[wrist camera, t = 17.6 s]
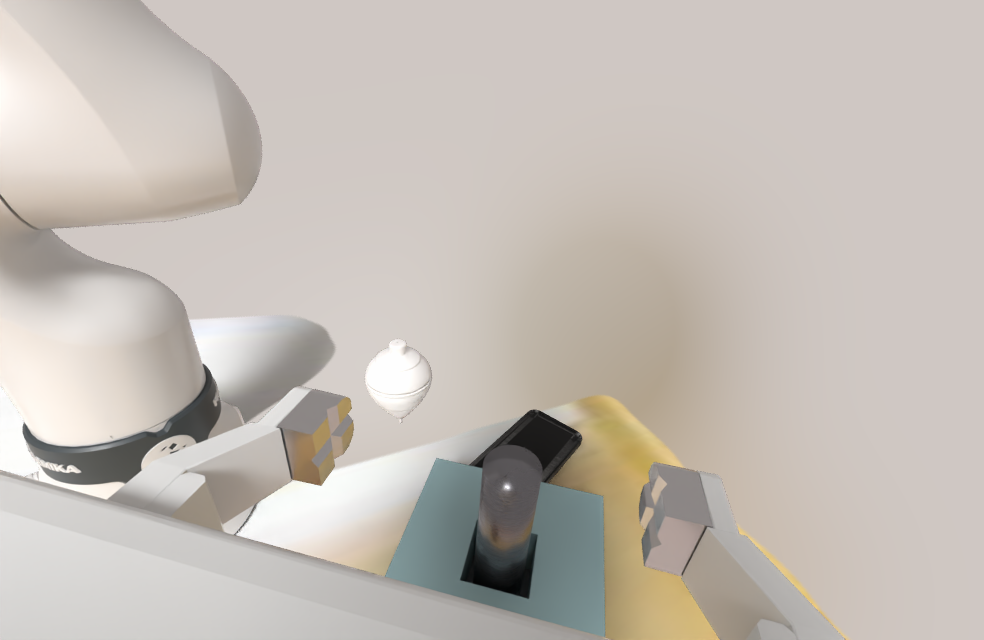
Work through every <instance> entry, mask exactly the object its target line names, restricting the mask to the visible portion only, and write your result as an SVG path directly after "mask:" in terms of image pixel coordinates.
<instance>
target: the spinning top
mask: <svg viewBox="0 0 984 640" xmlns="http://www.w3.org/2000/svg"><path fill="white" fill-rule="evenodd" d="M431 379H432V373H431V368H430V365H429V363H428V362H427V360H426V359H425V358H424V357H423V356H422V355H421V354H420V353H419V352H418V351H417V350H415V349H413V348H410V347H407V346H406V342H405V341H404V340H402V339H394V340H392V341H390V343H389V348H385V349H383V350H381V351H380V352H379V353H378V354H377V355H376V356H375V357H374V358H373V359H372V360H371V362H370V363H369V365H368V367H367V369H366V373H365V383H366V387H367V390H368V392H369V394H370V395H371V397H372V398H373V399H374V400H375V402H376V403H377V404H378V405H379V406H380V407H381V408H383V409H384V410H385V411H386V412H388V413H389V414H391V415H392V416H394V417H396V418H398V419H399V423H402V418H404V417H405V416H407V415H408V414H409V413H410V412H411V411H413V410H414V408H416V407H417V406H418V405H419V403H420V402H421V401H422V400H423V398H424V396H425V395H426V393H427V392H428V390H429V388H430V384H431Z"/></svg>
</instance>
